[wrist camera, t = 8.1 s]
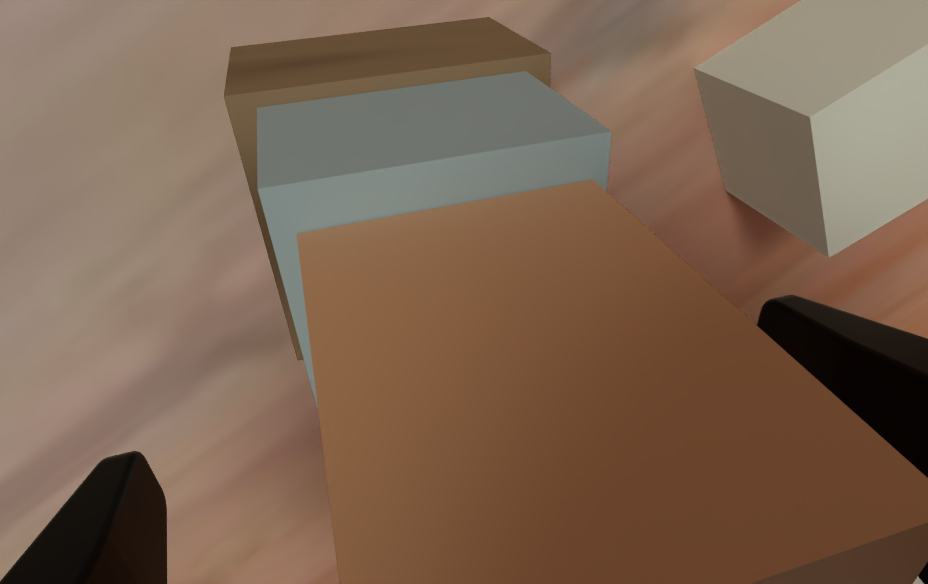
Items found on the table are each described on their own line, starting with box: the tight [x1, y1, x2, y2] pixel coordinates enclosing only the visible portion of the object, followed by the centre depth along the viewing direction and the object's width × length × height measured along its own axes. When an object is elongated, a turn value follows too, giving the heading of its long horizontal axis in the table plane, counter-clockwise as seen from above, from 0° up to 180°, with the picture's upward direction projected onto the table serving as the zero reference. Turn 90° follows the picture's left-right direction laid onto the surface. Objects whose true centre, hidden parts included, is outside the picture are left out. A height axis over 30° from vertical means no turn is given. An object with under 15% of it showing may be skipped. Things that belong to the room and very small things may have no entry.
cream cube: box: [694, 0, 928, 258], centre depth 16 cm, size 4×4×4 cm
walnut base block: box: [224, 17, 551, 360], centre depth 14 cm, size 6×6×4 cm
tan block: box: [296, 179, 928, 584], centre depth 8 cm, size 4×4×6 cm
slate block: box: [257, 71, 612, 410], centre depth 11 cm, size 5×5×4 cm
